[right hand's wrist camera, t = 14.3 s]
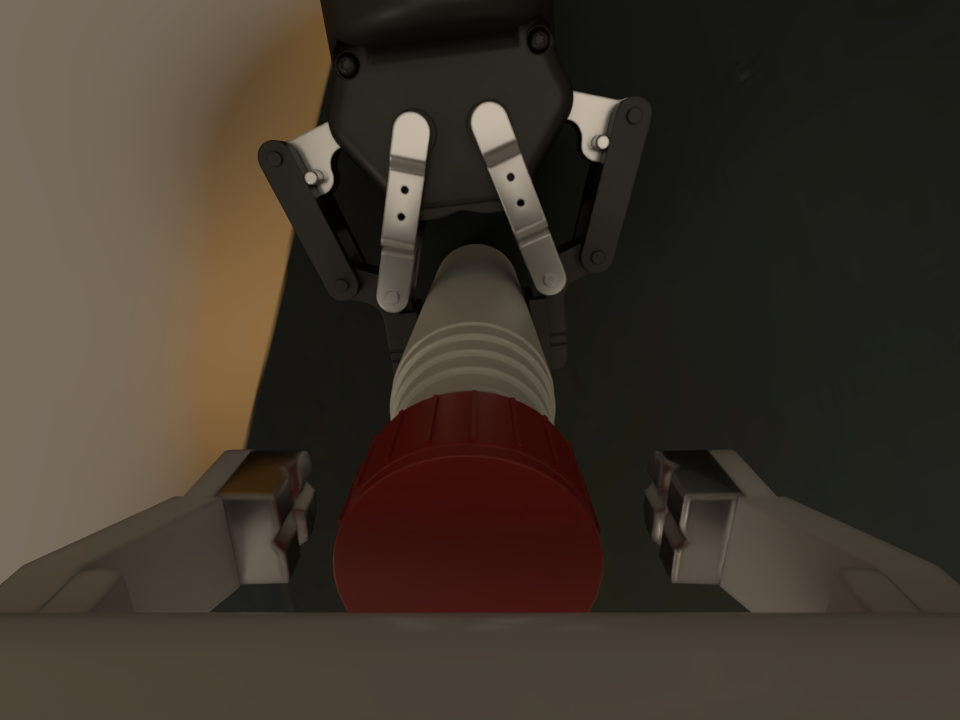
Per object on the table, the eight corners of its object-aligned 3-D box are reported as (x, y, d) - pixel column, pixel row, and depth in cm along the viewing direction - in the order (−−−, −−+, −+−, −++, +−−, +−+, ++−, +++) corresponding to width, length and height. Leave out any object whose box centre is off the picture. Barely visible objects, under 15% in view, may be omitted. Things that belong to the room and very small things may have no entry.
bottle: (428, 250, 27) (302, 452, 8) (512, 238, 26) (594, 414, 7) (442, 330, 28) (366, 663, 9) (521, 318, 28) (611, 636, 9)
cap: (373, 577, 11) (347, 677, 9) (346, 391, 9) (307, 457, 7) (576, 571, 11) (600, 669, 9) (582, 382, 9) (612, 446, 7)
